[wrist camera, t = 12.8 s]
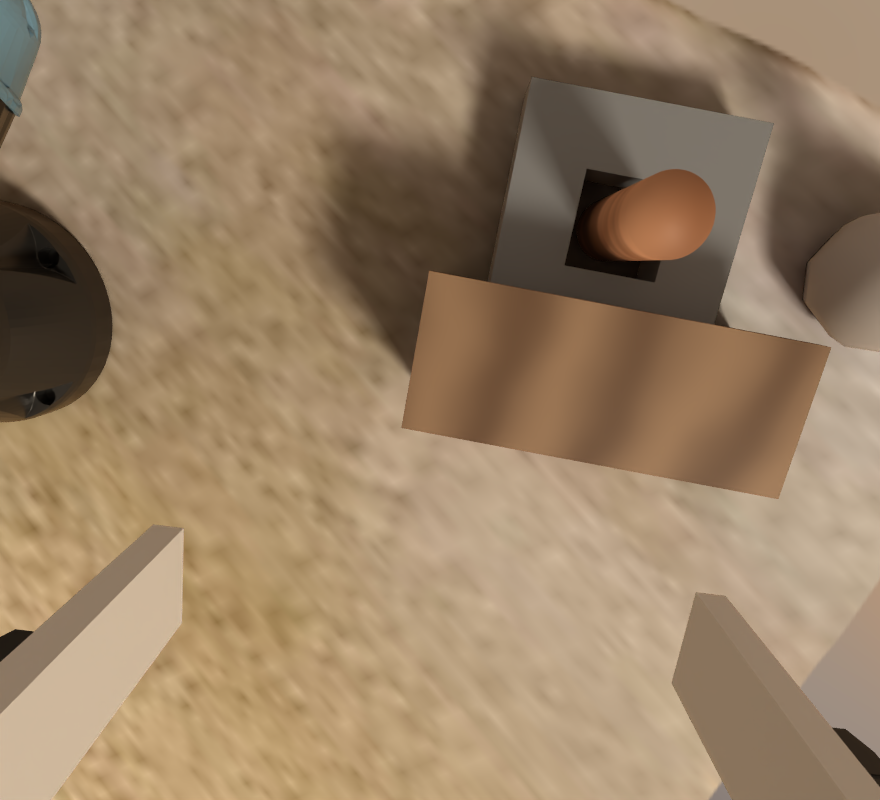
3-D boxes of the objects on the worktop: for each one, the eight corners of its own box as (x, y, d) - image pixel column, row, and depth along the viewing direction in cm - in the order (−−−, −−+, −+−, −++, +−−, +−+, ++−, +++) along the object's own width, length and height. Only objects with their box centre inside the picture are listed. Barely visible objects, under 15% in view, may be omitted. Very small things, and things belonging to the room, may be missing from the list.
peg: (570, 255, 38) (617, 251, 27) (584, 193, 38) (640, 161, 26) (628, 266, 38) (701, 267, 27) (644, 204, 38) (726, 178, 26)
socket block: (480, 315, 40) (482, 320, 36) (524, 96, 36) (531, 76, 32) (679, 352, 40) (702, 362, 36) (740, 138, 36) (773, 123, 32)
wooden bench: (416, 389, 41) (401, 427, 31) (437, 269, 39) (429, 270, 29) (703, 443, 41) (778, 498, 31) (739, 326, 39) (831, 347, 29)
